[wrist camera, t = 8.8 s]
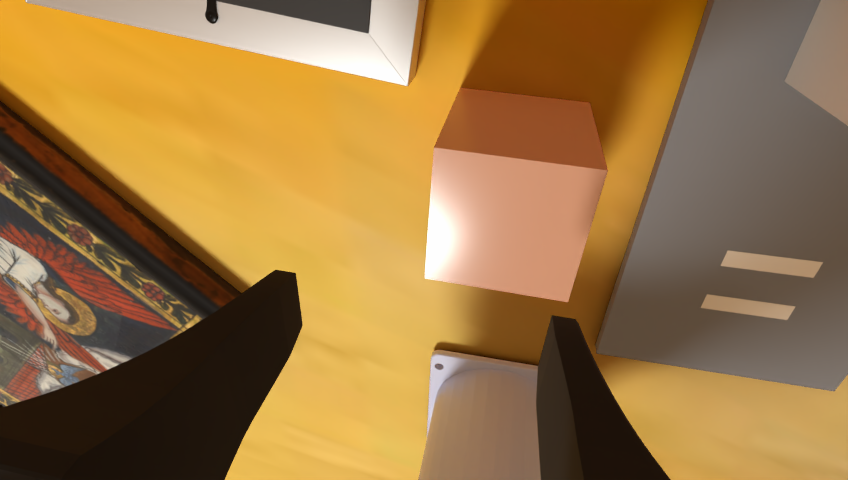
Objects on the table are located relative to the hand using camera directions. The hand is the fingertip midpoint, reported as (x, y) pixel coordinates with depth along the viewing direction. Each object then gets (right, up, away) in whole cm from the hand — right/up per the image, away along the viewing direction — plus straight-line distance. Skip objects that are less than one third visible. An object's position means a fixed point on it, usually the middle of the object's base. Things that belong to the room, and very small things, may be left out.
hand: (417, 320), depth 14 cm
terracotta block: (+4, +6, +7) cm, 10 cm away
